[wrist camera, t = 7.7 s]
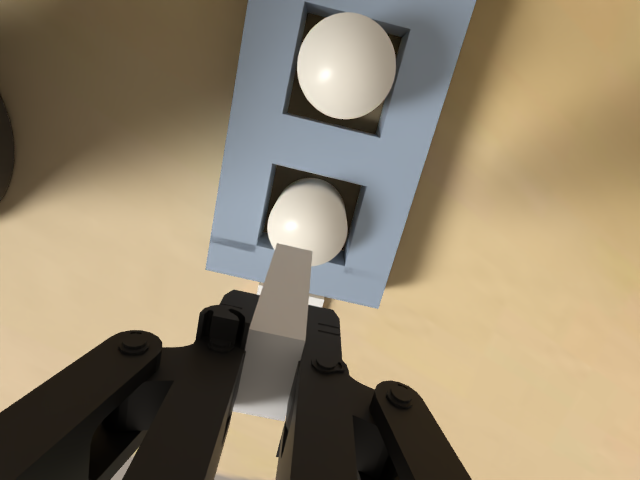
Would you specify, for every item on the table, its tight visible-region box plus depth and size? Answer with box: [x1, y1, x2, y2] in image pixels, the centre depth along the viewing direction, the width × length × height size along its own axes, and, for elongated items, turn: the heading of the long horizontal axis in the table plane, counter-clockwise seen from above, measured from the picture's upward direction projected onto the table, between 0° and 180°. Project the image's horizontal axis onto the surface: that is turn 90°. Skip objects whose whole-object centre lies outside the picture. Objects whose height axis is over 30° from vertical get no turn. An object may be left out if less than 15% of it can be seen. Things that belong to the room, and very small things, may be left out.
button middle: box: [297, 12, 396, 119], centre depth 22 cm, size 5×5×4 cm
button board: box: [206, 0, 476, 309], centre depth 25 cm, size 28×12×3 cm, turn 167°
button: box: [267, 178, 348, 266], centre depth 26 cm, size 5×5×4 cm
